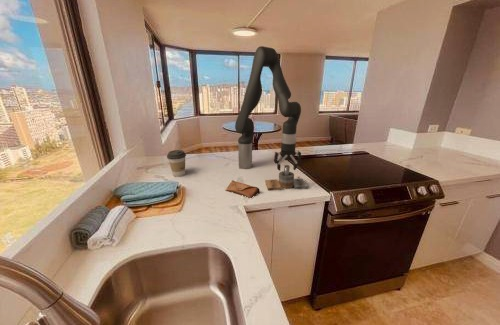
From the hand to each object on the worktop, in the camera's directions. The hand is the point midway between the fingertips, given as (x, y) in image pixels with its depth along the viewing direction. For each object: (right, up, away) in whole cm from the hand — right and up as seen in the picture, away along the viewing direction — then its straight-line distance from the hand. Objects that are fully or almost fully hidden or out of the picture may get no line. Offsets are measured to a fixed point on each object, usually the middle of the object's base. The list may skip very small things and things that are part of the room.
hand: (286, 169), depth 116 cm
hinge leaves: (0, -9, +4) cm, 10 cm away
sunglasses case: (-25, -12, -2) cm, 28 cm away
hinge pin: (0, -9, +4) cm, 10 cm away
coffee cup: (-66, -4, +18) cm, 68 cm away
